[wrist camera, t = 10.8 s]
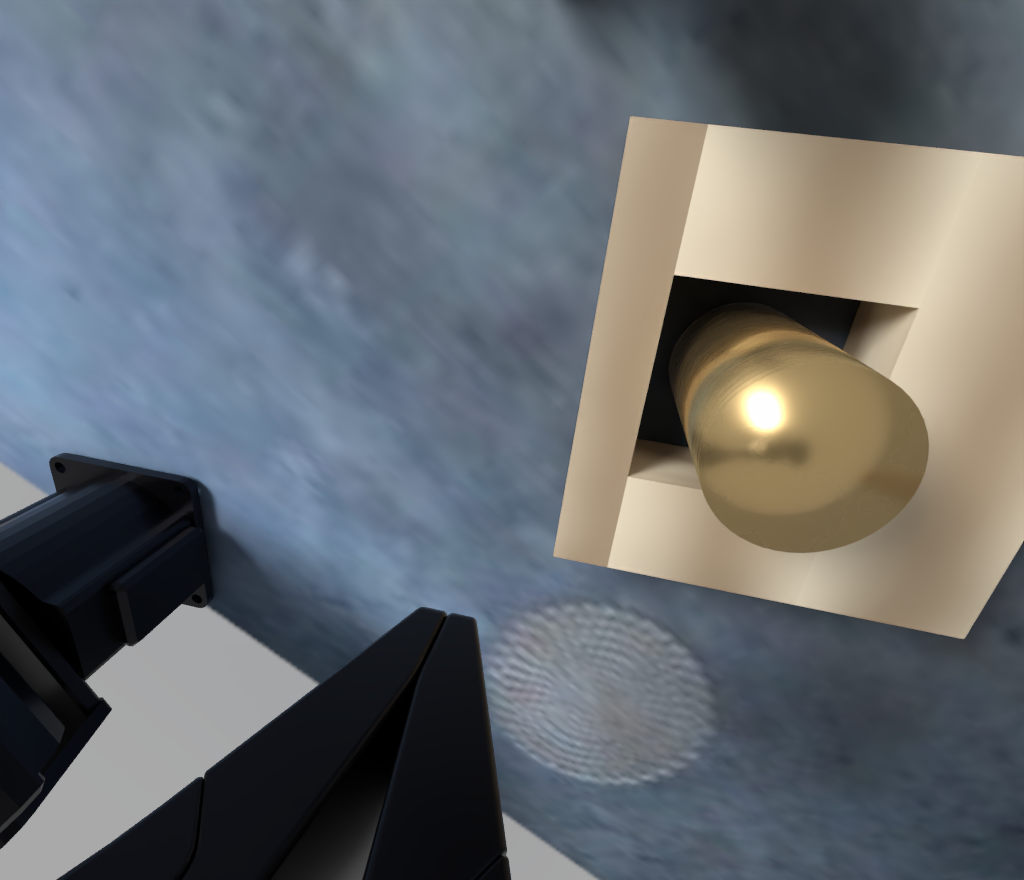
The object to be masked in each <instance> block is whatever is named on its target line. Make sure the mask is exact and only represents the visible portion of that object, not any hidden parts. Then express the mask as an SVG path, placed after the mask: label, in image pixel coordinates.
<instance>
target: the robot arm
mask: <svg viewBox="0 0 1024 880" xmlns="http://www.w3.org/2000/svg"><path fill="white" fill-rule="evenodd" d="M49 464H50V469H51V473H52V476H53V480H54V484H55V487H56V491H57V492H56V493H54V494H52V495H50V496H48V497H46V498H44V499H42V500H40V501H38V502H36V503H34V504H32V505H30V506H28V507H26V508H24V509H22V510H20V511H18V512H16V513H14V514H12V515H10V516H8V517H6V518H4V519H2V520H0V849H1V848H2V847H3V846H4V845H6V843H7V842H8V841H9V840H10V839H11V838H12V837H13V836H14V835H15V834H16V833H17V832H18V831H19V830H20V829H21V828H22V827H23V826H24V824H25V823H26V822H27V821H28V820H29V818H30V817H31V816H32V815H33V814H34V812H35V811H36V810H37V808H38V807H39V806H40V804H41V803H42V802H43V800H44V799H45V798H46V796H47V795H48V794H49V792H50V791H51V790H52V788H53V787H54V786H55V784H56V783H57V782H58V781H59V779H60V778H61V776H62V775H63V774H64V773H65V771H66V770H67V768H68V767H69V766H70V764H71V763H72V762H73V760H74V759H75V758H76V757H77V755H78V754H79V753H80V751H81V750H82V749H83V747H84V746H85V745H86V743H87V742H88V741H89V739H90V738H91V737H92V735H93V734H94V733H95V731H96V730H97V729H98V727H99V726H100V725H101V723H102V722H103V721H104V719H105V718H106V716H107V715H108V714H109V713H110V711H111V710H112V708H111V707H110V706H109V704H108V703H107V702H106V701H105V700H104V698H99V697H98V696H97V695H96V694H95V693H94V692H93V690H92V689H91V688H90V687H89V685H88V684H87V683H86V682H85V680H87V679H88V678H89V677H90V676H91V675H92V674H93V673H94V672H96V670H98V669H99V668H100V667H101V666H102V665H104V664H105V663H106V662H107V661H108V660H109V659H110V658H111V657H113V656H114V655H115V654H116V653H117V652H118V651H119V650H121V649H122V648H123V647H124V646H125V645H128V646H134V645H135V644H137V643H138V642H139V641H141V640H142V639H143V638H144V637H145V636H146V635H147V634H149V633H150V632H151V631H152V630H153V629H154V628H155V627H156V626H157V625H158V624H160V623H161V622H162V621H163V620H164V619H165V618H166V617H167V616H168V615H169V614H171V613H172V612H173V611H174V610H175V609H176V608H177V607H178V606H180V605H181V604H185V605H189V606H194V607H198V608H203V607H205V606H206V605H207V604H209V603H210V602H211V601H212V599H213V590H212V583H211V576H210V569H209V563H208V556H207V549H206V542H205V535H204V528H203V521H202V514H201V508H200V501H199V494H198V489H197V486H196V484H195V483H194V482H193V481H192V480H191V479H189V478H187V477H183V476H178V475H173V474H168V473H163V472H158V471H153V470H148V469H143V468H138V467H133V466H128V465H123V464H118V463H113V462H108V461H103V460H98V459H93V458H88V457H83V456H78V455H73V454H68V453H62V454H59V455H57V456H55V457H53V458H51V459H50V461H49ZM184 491H185V492H184ZM506 852H507V847H506V840H505V832H504V824H503V817H502V809H501V802H500V794H499V786H498V779H497V771H496V764H495V756H494V749H493V741H492V734H491V726H490V719H489V711H488V704H487V696H486V689H485V681H484V674H483V666H482V659H481V651H480V643H479V636H478V628H477V622H476V620H475V619H474V618H473V617H469V616H464V615H459V614H455V613H451V614H449V615H448V616H447V614H446V613H445V612H444V611H441V610H436V609H431V608H427V607H421V608H418V609H417V610H415V611H414V612H413V613H411V614H410V615H409V616H407V617H406V618H405V619H404V620H402V621H401V622H400V623H398V624H397V625H396V626H394V627H393V628H392V629H391V630H389V631H388V632H387V633H385V634H384V635H383V636H381V637H380V638H379V639H378V640H376V641H375V642H374V643H372V644H371V645H370V646H368V647H367V648H366V649H365V650H363V651H362V652H361V653H359V654H358V655H357V656H355V657H354V658H353V659H352V660H350V661H349V662H348V663H346V664H345V665H344V666H342V667H341V668H340V669H339V670H337V671H336V672H335V673H333V674H332V675H331V676H329V677H328V678H327V679H326V680H324V681H323V682H322V683H320V684H319V685H318V686H316V687H315V688H314V689H313V690H311V691H310V692H309V693H307V694H306V695H305V696H303V697H302V698H301V699H300V700H298V701H297V702H296V703H294V704H293V705H292V706H291V707H290V708H288V709H287V710H285V711H284V712H283V713H281V714H280V715H279V716H278V717H276V718H275V719H274V720H272V721H271V722H270V723H268V724H267V725H266V726H264V727H263V728H262V729H261V730H259V731H258V732H257V733H255V734H254V735H253V736H251V737H250V738H249V739H248V740H246V741H245V742H244V743H242V744H241V745H240V746H238V747H237V748H236V749H235V750H233V751H232V752H231V753H230V754H228V755H227V756H226V757H224V758H223V759H222V760H220V761H219V762H218V763H216V764H215V765H214V766H213V767H211V768H210V769H209V770H207V771H206V773H205V776H204V778H202V777H198V778H196V779H195V780H194V781H193V782H191V783H190V784H189V785H187V786H186V787H185V788H183V789H182V790H181V791H180V792H178V793H177V794H176V795H174V796H173V797H172V798H170V799H169V800H168V801H167V802H165V803H164V804H163V805H161V806H160V807H158V808H157V809H156V810H154V811H153V812H152V813H150V814H149V815H148V816H146V817H145V818H144V819H142V820H141V821H140V822H138V823H137V824H135V825H134V826H133V827H131V828H130V829H129V830H127V831H126V832H125V833H123V834H122V835H120V836H119V837H118V838H117V839H115V840H114V841H112V842H111V843H110V844H108V845H107V846H105V847H104V848H102V849H101V850H99V851H98V852H96V853H95V854H94V855H92V856H90V857H89V858H88V859H86V860H85V861H83V862H82V863H80V864H79V865H77V866H76V867H74V868H73V869H71V870H70V871H68V872H67V873H66V874H65V875H63V876H61V877H60V878H58V879H57V880H511V874H510V867H509V860H508V858H507V856H506Z"/></svg>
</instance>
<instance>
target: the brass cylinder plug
mask: <svg viewBox="0 0 1024 880" xmlns="http://www.w3.org/2000/svg"><path fill="white" fill-rule="evenodd" d="M669 382H670V386H671V390H672V393H673V396H674V400H675V403H676V406H677V409H678V413H679V416H680V419H681V423H682V426H683V429H684V432H685V436H686V439H687V442H688V445H689V449H690V452H691V455H692V459H693V462H694V465H695V468H696V472H697V475H698V478H699V481H700V485H701V488H702V491H703V494H704V497H705V499H706V501H707V504H708V505H709V507H710V509H711V510H712V512H713V513H714V515H715V516H716V517H717V518H718V519H719V521H720V522H721V523H722V524H723V525H724V526H726V527H727V528H728V529H729V530H730V531H731V532H733V533H734V534H736V535H737V536H739V537H740V538H742V539H744V540H746V541H748V542H750V543H752V544H755V545H758V546H760V547H763V548H767V549H771V550H775V551H781V552H788V553H812V552H821V551H827V550H832V549H836V548H839V547H843V546H846V545H849V544H852V543H854V542H857V541H859V540H861V539H863V538H865V537H867V536H869V535H871V534H873V533H874V532H876V531H877V530H879V529H881V528H882V527H884V526H885V525H886V524H887V523H889V522H890V521H891V520H892V519H894V518H895V517H896V516H897V515H898V514H899V513H900V512H901V511H902V510H903V509H904V508H905V506H906V505H907V504H908V502H909V501H910V500H911V499H912V497H913V496H914V494H915V492H916V491H917V489H918V487H919V485H920V483H921V481H922V478H923V476H924V473H925V470H926V466H927V462H928V454H929V440H928V432H927V428H926V425H925V421H924V419H923V417H922V415H921V413H920V410H919V408H918V407H917V406H916V404H915V403H914V401H913V400H912V399H911V397H910V396H909V395H908V394H907V393H906V392H905V391H904V390H903V389H902V388H901V387H899V386H898V385H896V384H895V383H894V382H892V381H891V380H890V379H888V378H886V377H885V376H883V375H882V374H880V373H878V372H877V371H875V370H873V369H872V368H870V367H869V366H867V365H865V364H864V363H862V362H861V361H859V360H857V359H856V358H854V357H852V356H851V355H849V354H848V353H846V352H844V351H843V350H841V349H840V348H838V347H836V346H835V345H833V344H831V343H830V342H828V341H827V340H825V339H823V338H822V337H820V336H819V335H817V334H815V333H814V332H812V331H810V330H809V329H807V328H806V327H804V326H802V325H801V324H799V323H798V322H796V321H794V320H793V319H791V318H790V317H788V316H786V315H785V314H783V313H781V312H780V311H778V310H776V309H774V308H772V307H769V306H766V305H763V304H759V303H752V302H736V303H731V304H726V305H722V306H719V307H716V308H714V309H712V310H710V311H708V312H706V313H704V314H703V315H701V316H700V317H698V318H697V319H696V320H694V321H693V322H692V323H691V324H690V325H689V326H688V327H687V328H686V329H685V330H684V332H683V333H682V334H681V335H680V337H679V339H678V340H677V342H676V344H675V346H674V348H673V351H672V354H671V357H670V362H669Z"/></svg>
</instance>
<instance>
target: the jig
mask: <svg viewBox="0 0 1024 880" xmlns="http://www.w3.org/2000/svg"><path fill="white" fill-rule="evenodd" d="M674 275H679V276H686V277H693V278H701V279H708V280H715V281H723V282H730V283H737V284H745V285H752V286H759V287H767V288H774V289H781V290H789V291H796V292H803V293H811V294H818V295H825V296H833V297H840V298H847V299H855V300H861V303H860V305H859V308H858V311H857V313H856V316H855V319H854V321H853V324H852V327H851V329H850V332H849V335H848V337H847V340H846V343H845V345H844V348H843V351H844V352H846V353H848V354H849V355H851V356H852V357H854V358H856V359H857V360H859V361H861V362H862V363H864V364H865V365H867V366H869V367H870V368H872V369H873V370H875V371H877V372H878V373H880V374H882V375H883V376H885V377H886V378H888V379H890V380H891V381H892V382H894V383H895V384H896V385H898V386H899V387H901V388H902V389H903V390H904V391H905V392H906V393H907V394H908V395H909V396H910V397H911V399H912V400H913V401H914V403H915V404H916V406H917V407H918V408H919V410H920V413H921V415H922V417H923V419H924V421H925V425H926V428H927V432H928V440H929V454H928V462H927V466H926V470H925V473H924V476H923V478H922V481H921V483H920V485H919V487H918V489H917V491H916V492H915V494H914V496H913V497H912V499H911V500H910V501H909V502H908V504H907V505H906V506H905V508H904V509H903V510H902V511H901V512H900V513H899V514H898V515H897V516H896V517H895V518H894V519H892V520H891V521H890V522H889V523H887V524H886V525H885V526H884V527H882V528H881V529H879V530H877V531H876V532H874V533H873V534H871V535H869V536H867V537H865V538H863V539H861V540H859V541H857V542H854V543H852V544H849V545H846V546H843V547H839V548H836V549H832V550H827V551H821V552H812V553H788V552H781V551H775V550H771V549H767V548H763V547H760V546H758V545H755V544H752V543H750V542H748V541H746V540H744V539H742V538H740V537H739V536H737V535H736V534H734V533H733V532H731V531H730V530H729V529H728V528H727V527H726V526H724V525H723V524H722V523H721V522H720V521H719V519H718V518H717V517H716V516H715V515H714V513H713V512H712V510H711V509H710V507H709V505H708V504H707V501H706V499H705V497H704V494H703V491H702V488H701V485H700V481H699V478H698V475H697V472H696V468H695V465H694V462H693V459H692V455H691V452H690V449H689V448H688V447H682V446H677V445H671V444H665V443H659V442H653V441H648V440H642V439H637V434H638V430H639V426H640V421H641V417H642V412H643V408H644V404H645V399H646V395H647V391H648V386H649V382H650V377H651V373H652V369H653V364H654V360H655V356H656V351H657V347H658V342H659V338H660V334H661V329H662V325H663V320H664V316H665V312H666V307H667V303H668V299H669V294H670V290H671V285H672V281H673V277H674ZM1023 541H1024V157H1020V156H1010V155H1000V154H991V153H981V152H971V151H962V150H952V149H942V148H932V147H923V146H913V145H903V144H894V143H884V142H874V141H865V140H855V139H845V138H836V137H826V136H816V135H807V134H797V133H787V132H778V131H768V130H758V129H748V128H739V127H729V126H719V125H710V124H700V123H690V122H681V121H671V120H661V119H652V118H642V117H632V116H630V122H629V127H628V133H627V139H626V144H625V150H624V156H623V162H622V167H621V173H620V179H619V184H618V190H617V196H616V201H615V207H614V213H613V218H612V224H611V230H610V236H609V241H608V247H607V253H606V258H605V264H604V270H603V275H602V281H601V287H600V292H599V298H598V304H597V310H596V315H595V321H594V327H593V332H592V338H591V344H590V349H589V355H588V361H587V366H586V372H585V378H584V384H583V389H582V395H581V401H580V406H579V412H578V418H577V423H576V429H575V435H574V440H573V446H572V452H571V458H570V463H569V469H568V475H567V480H566V486H565V492H564V497H563V503H562V509H561V514H560V520H559V526H558V532H557V537H556V543H555V549H554V554H553V556H554V557H559V558H564V559H569V560H574V561H579V562H584V563H589V564H594V565H599V566H604V567H608V568H613V569H618V570H623V571H628V572H633V573H638V574H643V575H648V576H653V577H658V578H663V579H668V580H673V581H678V582H683V583H688V584H693V585H698V586H703V587H708V588H713V589H717V590H722V591H727V592H732V593H737V594H742V595H747V596H752V597H757V598H762V599H767V600H772V601H777V602H782V603H787V604H792V605H797V606H802V607H807V608H812V609H817V610H822V611H826V612H831V613H836V614H841V615H846V616H851V617H856V618H861V619H866V620H871V621H876V622H881V623H886V624H891V625H896V626H901V627H906V628H911V629H916V630H921V631H926V632H931V633H935V634H940V635H945V636H950V637H955V638H960V639H965V637H966V636H967V634H968V632H969V631H970V629H971V627H972V626H973V624H974V622H975V621H976V619H977V617H978V616H979V614H980V612H981V611H982V609H983V607H984V606H985V604H986V602H987V601H988V599H989V597H990V596H991V594H992V592H993V591H994V589H995V588H996V586H997V584H998V583H999V581H1000V579H1001V578H1002V576H1003V574H1004V573H1005V571H1006V569H1007V568H1008V566H1009V564H1010V563H1011V561H1012V559H1013V558H1014V556H1015V554H1016V553H1017V551H1018V549H1019V548H1020V546H1021V544H1022V543H1023Z"/></svg>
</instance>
